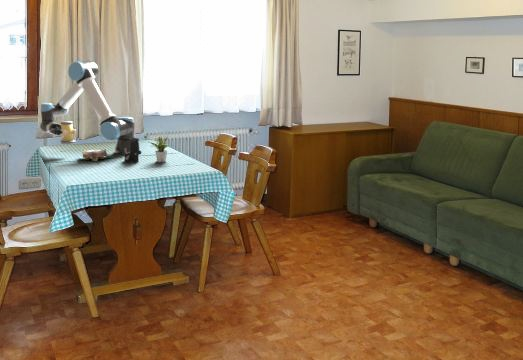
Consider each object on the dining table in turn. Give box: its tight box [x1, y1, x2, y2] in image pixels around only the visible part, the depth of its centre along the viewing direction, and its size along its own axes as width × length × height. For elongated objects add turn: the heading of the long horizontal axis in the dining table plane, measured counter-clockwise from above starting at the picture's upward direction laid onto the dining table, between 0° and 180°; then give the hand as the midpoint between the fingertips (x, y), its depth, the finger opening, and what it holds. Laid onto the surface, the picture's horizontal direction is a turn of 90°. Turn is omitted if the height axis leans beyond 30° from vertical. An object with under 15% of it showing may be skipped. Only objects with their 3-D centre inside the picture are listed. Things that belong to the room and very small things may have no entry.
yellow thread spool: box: [60, 120, 76, 145], centre depth 400 cm, size 9×9×13 cm
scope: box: [123, 137, 142, 164], centre depth 387 cm, size 8×14×10 cm
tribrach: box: [81, 149, 108, 162], centre depth 395 cm, size 14×14×5 cm
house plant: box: [147, 135, 171, 163], centre depth 389 cm, size 14×14×16 cm
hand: (70, 132), depth 396 cm, fingers closed on yellow thread spool, 7 cm apart
